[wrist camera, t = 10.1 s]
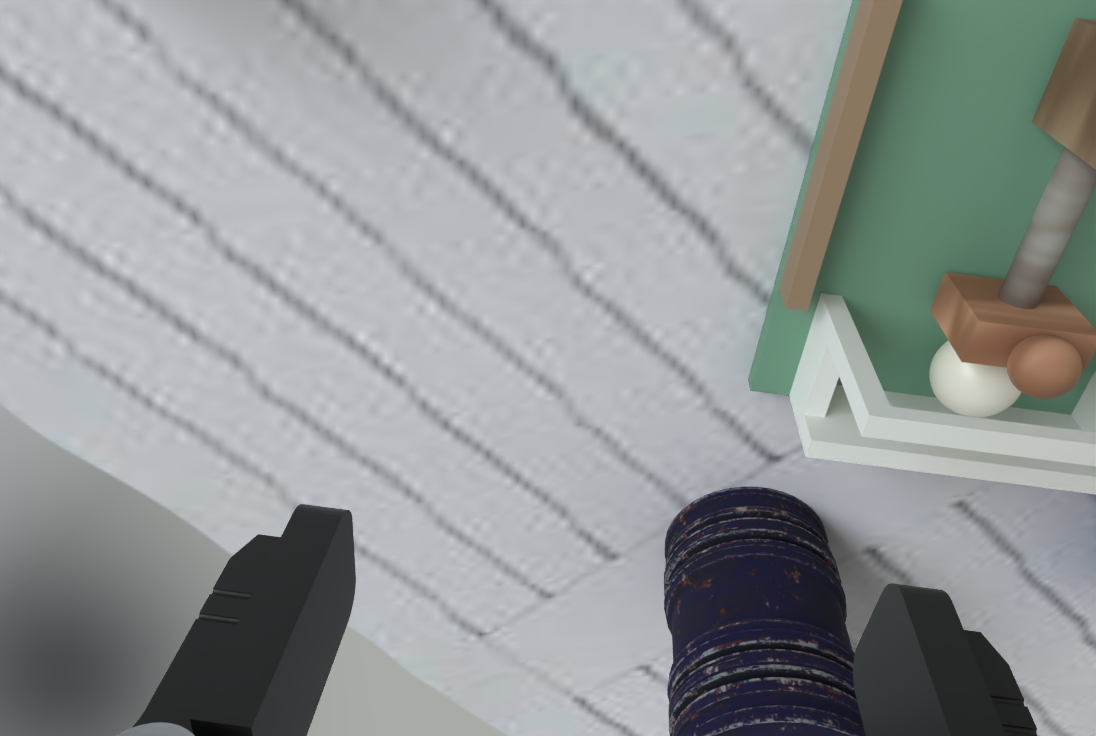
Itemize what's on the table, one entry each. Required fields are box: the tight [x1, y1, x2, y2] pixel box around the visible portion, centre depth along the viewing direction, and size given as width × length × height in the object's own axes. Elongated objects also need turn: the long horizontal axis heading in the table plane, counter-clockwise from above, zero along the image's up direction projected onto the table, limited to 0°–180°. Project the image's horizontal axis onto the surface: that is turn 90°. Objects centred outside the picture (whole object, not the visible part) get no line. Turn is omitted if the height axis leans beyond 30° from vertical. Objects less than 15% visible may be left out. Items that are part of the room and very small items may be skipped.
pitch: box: [748, 0, 1096, 494], centre depth 33 cm, size 20×19×11 cm
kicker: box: [930, 18, 1096, 399], centre depth 32 cm, size 13×5×7 cm, turn 175°
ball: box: [929, 340, 1021, 417], centre depth 39 cm, size 4×4×4 cm
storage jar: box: [664, 487, 866, 736], centre depth 44 cm, size 10×10×15 cm
